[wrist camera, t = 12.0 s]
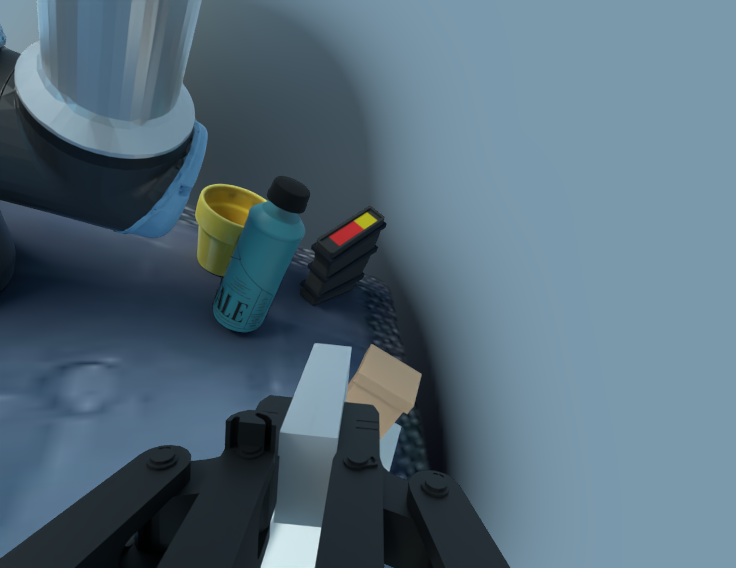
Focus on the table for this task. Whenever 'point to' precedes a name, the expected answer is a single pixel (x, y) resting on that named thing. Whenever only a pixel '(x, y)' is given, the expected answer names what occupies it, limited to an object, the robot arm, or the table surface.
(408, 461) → the table surface
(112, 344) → the table surface
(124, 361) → the table surface
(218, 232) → the plant pot
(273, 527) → the switch panel
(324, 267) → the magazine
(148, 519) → the robot arm
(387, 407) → the switch tab
